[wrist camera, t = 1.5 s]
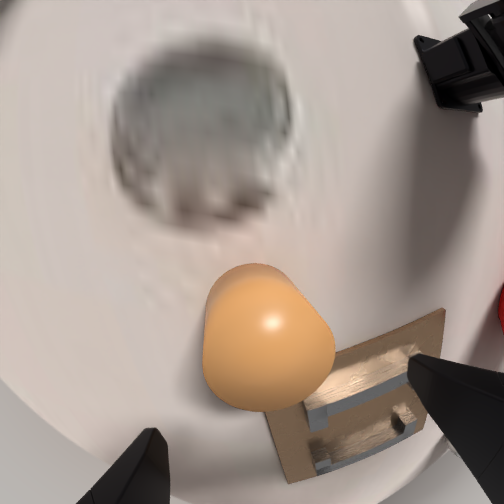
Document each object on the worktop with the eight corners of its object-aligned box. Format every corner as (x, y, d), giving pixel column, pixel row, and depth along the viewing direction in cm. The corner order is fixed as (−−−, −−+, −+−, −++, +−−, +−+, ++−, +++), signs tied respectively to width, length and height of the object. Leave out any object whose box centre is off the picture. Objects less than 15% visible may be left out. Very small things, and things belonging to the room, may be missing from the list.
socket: (442, 307, 19) (457, 316, 17) (420, 426, 22) (429, 436, 20) (254, 376, 18) (258, 394, 16) (287, 480, 21) (291, 494, 19)
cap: (289, 253, 16) (328, 285, 10) (304, 335, 17) (338, 391, 12) (194, 276, 16) (183, 322, 10) (220, 356, 17) (223, 422, 11)
